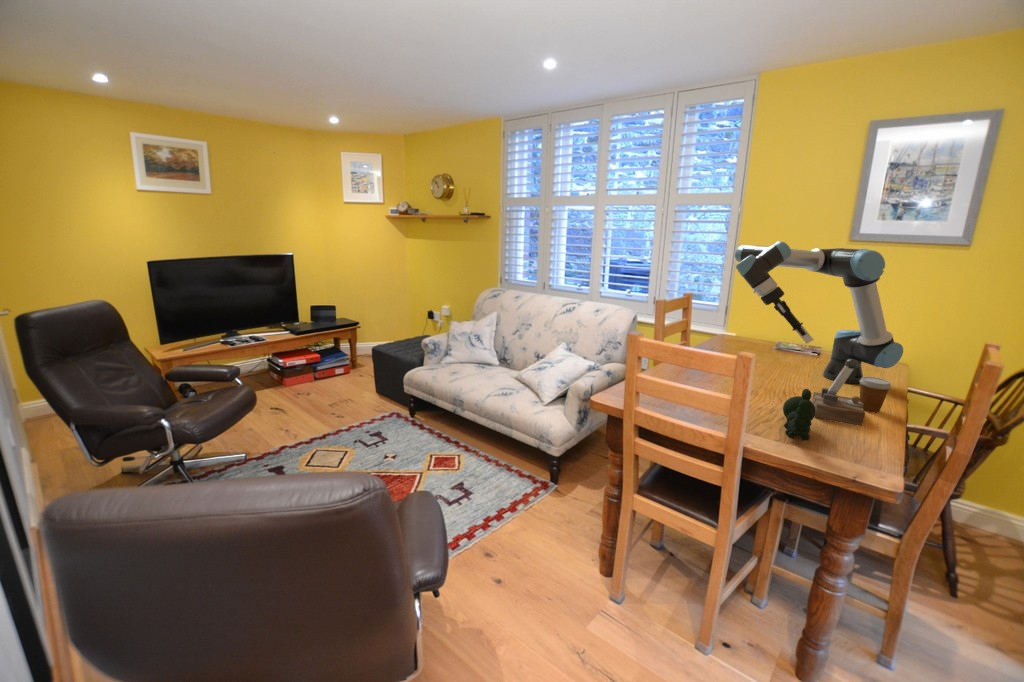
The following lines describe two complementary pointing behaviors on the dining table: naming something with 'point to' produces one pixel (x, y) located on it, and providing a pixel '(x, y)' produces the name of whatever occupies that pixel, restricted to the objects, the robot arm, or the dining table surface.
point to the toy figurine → (799, 415)
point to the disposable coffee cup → (873, 393)
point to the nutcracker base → (838, 408)
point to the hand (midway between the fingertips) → (809, 341)
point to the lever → (842, 376)
